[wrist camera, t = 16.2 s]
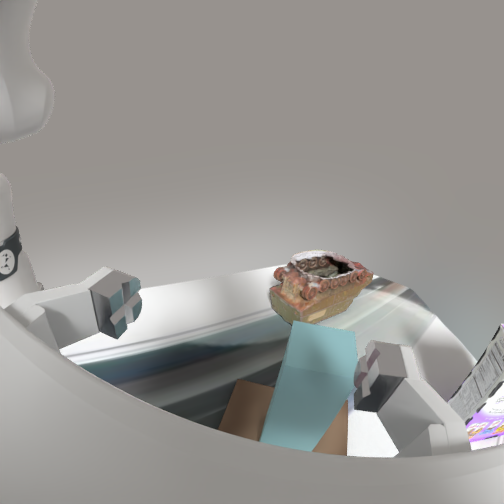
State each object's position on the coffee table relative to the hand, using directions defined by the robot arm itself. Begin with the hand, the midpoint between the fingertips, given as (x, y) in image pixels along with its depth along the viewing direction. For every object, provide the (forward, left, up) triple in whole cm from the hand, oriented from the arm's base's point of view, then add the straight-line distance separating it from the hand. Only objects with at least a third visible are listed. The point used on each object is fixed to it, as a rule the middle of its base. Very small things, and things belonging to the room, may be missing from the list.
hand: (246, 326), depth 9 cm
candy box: (+32, +11, -22) cm, 41 cm away
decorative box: (+6, +38, -22) cm, 44 cm away
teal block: (+4, +8, -21) cm, 23 cm away
